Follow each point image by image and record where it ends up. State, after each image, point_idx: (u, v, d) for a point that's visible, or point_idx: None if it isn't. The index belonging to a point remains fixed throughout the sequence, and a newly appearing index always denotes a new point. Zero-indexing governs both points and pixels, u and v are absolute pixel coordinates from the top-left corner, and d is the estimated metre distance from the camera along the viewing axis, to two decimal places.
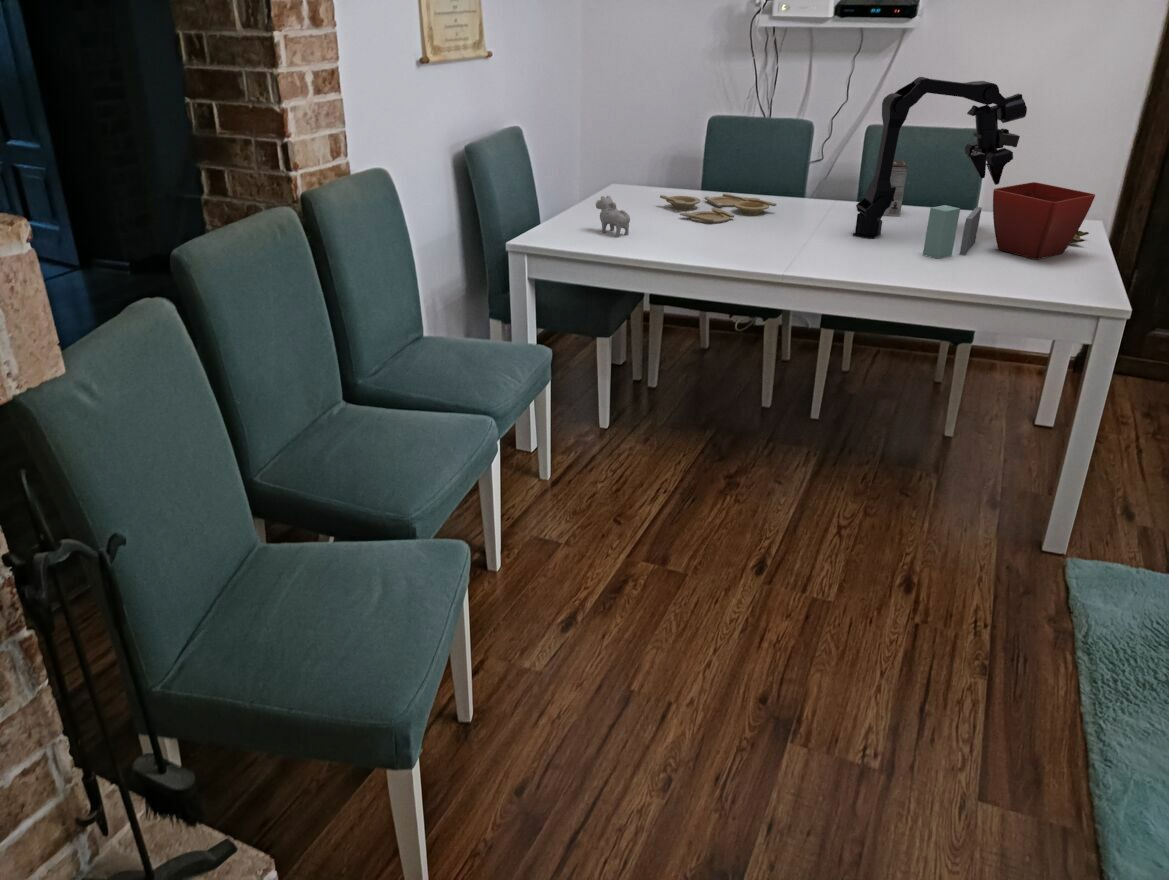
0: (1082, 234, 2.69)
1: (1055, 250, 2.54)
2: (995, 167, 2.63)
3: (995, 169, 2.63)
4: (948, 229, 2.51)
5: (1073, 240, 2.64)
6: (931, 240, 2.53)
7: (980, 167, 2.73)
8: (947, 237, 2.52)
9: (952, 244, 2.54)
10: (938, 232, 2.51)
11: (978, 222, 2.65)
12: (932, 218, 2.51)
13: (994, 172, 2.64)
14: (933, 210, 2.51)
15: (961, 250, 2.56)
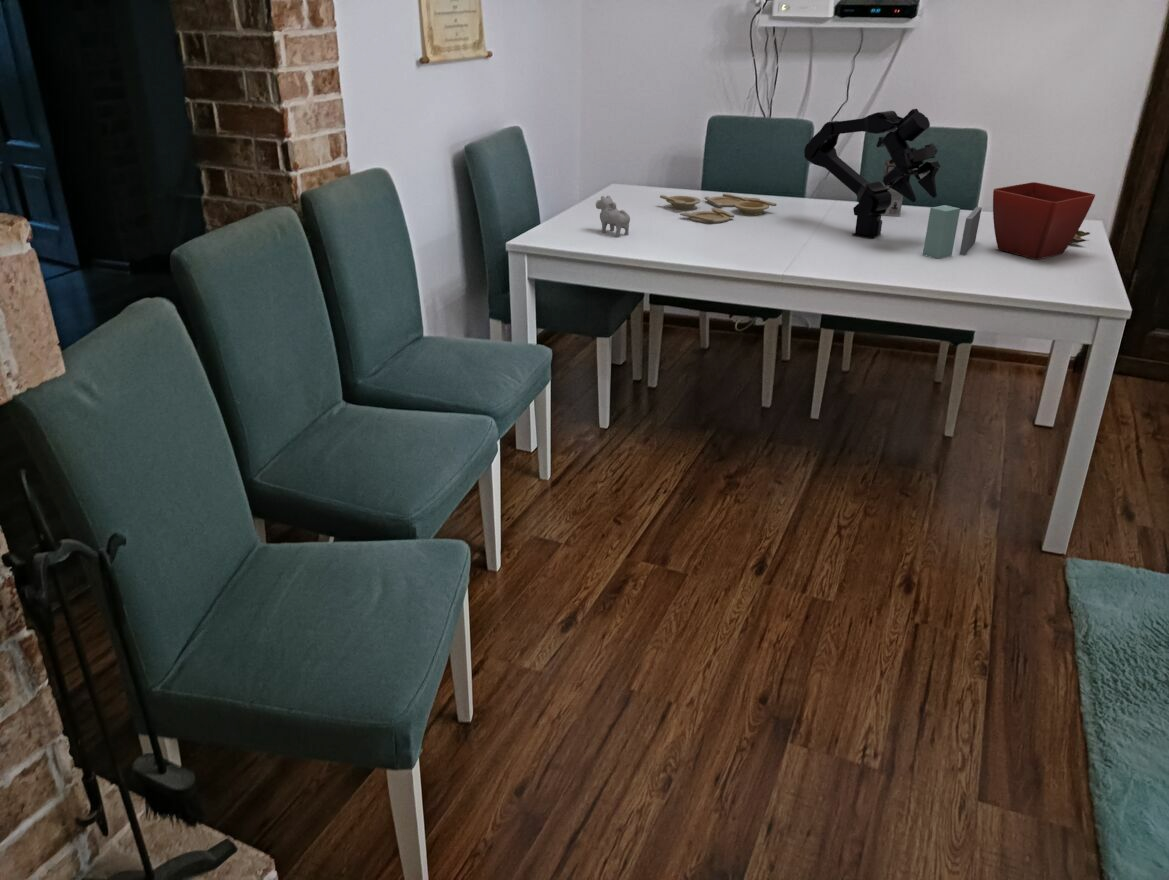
0: (1083, 234, 2.69)
1: (1055, 250, 2.54)
2: (901, 186, 2.55)
3: (902, 188, 2.55)
4: (948, 229, 2.51)
5: (1074, 240, 2.64)
6: (931, 240, 2.53)
7: (929, 187, 2.60)
8: (947, 237, 2.52)
9: (952, 244, 2.54)
10: (938, 232, 2.51)
11: (978, 222, 2.65)
12: (932, 218, 2.51)
13: (903, 191, 2.55)
14: (933, 210, 2.51)
15: (961, 250, 2.56)
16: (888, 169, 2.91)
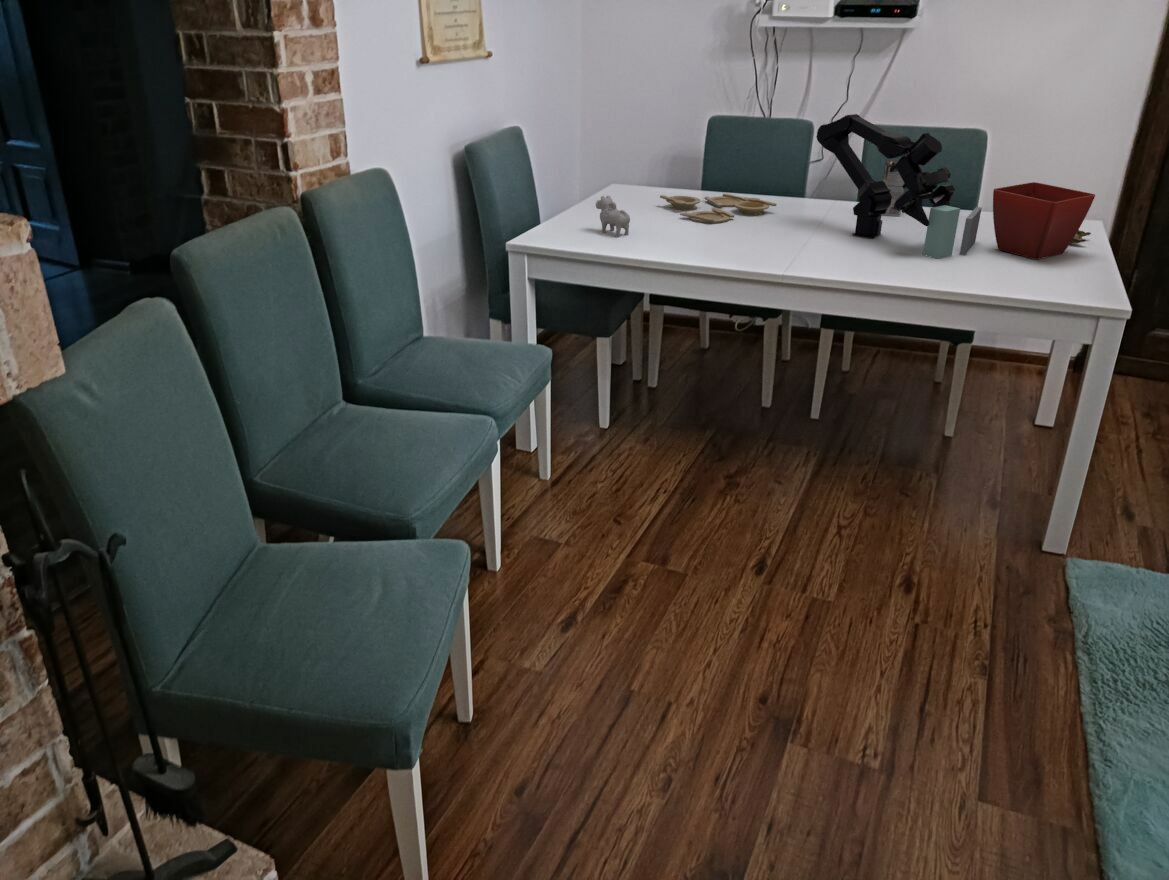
0: (1084, 234, 2.69)
1: (1055, 250, 2.54)
2: (914, 210, 2.52)
3: (915, 212, 2.52)
4: (948, 229, 2.51)
5: (1075, 240, 2.64)
6: (931, 240, 2.53)
7: None
8: (947, 237, 2.52)
9: (952, 244, 2.54)
10: (938, 232, 2.51)
11: (978, 222, 2.65)
12: (932, 218, 2.51)
13: (915, 215, 2.52)
14: (933, 210, 2.51)
15: (961, 250, 2.56)
16: (888, 169, 2.91)
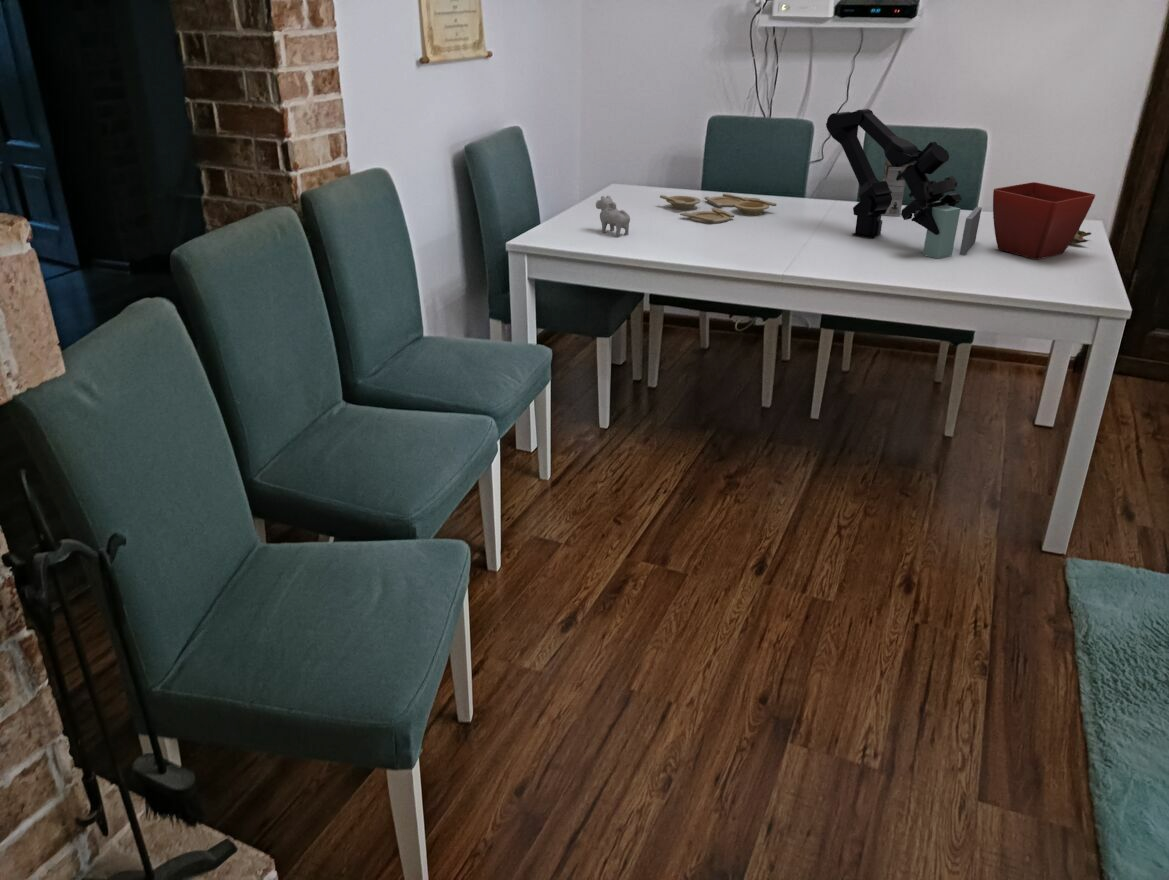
0: (1085, 234, 2.69)
1: (1055, 250, 2.54)
2: (923, 219, 2.52)
3: (925, 220, 2.52)
4: (949, 229, 2.51)
5: (1076, 240, 2.63)
6: (931, 240, 2.53)
7: None
8: (947, 237, 2.52)
9: (952, 244, 2.54)
10: None
11: (978, 222, 2.65)
12: None
13: (925, 224, 2.52)
14: (933, 210, 2.51)
15: (961, 250, 2.56)
16: (888, 169, 2.91)
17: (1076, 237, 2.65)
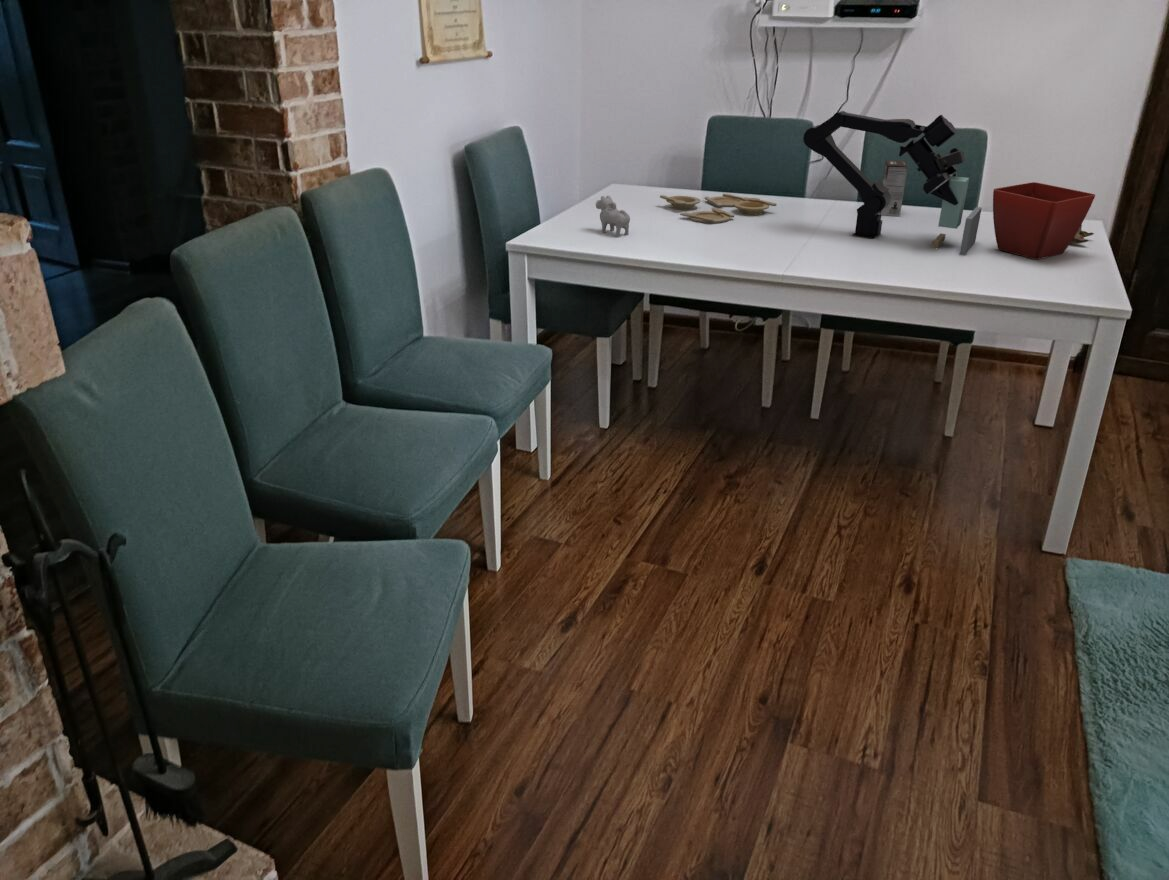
0: (1087, 234, 2.69)
1: (1055, 250, 2.54)
2: (941, 191, 2.56)
3: (943, 192, 2.56)
4: (963, 199, 2.58)
5: (1077, 240, 2.63)
6: (948, 211, 2.59)
7: None
8: (962, 206, 2.59)
9: (962, 213, 2.62)
10: None
11: (978, 222, 2.65)
12: None
13: (944, 195, 2.56)
14: None
15: (961, 250, 2.56)
16: (888, 169, 2.91)
17: (1077, 237, 2.65)
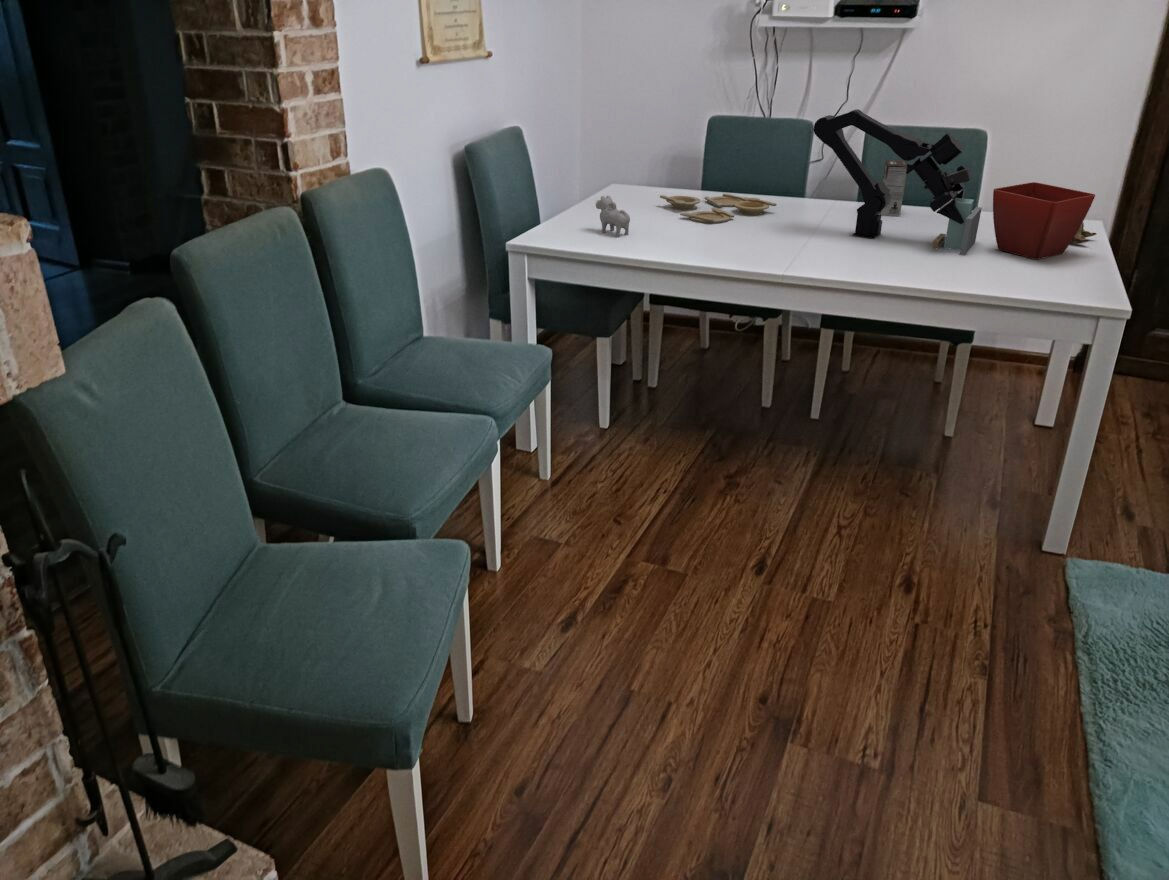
0: (1089, 234, 2.68)
1: (1055, 250, 2.54)
2: (947, 210, 2.56)
3: (949, 211, 2.56)
4: None
5: (1077, 240, 2.64)
6: (954, 233, 2.60)
7: None
8: None
9: None
10: (962, 224, 2.58)
11: (978, 222, 2.65)
12: None
13: (950, 214, 2.56)
14: None
15: (961, 250, 2.56)
16: (888, 169, 2.91)
17: (1078, 237, 2.65)
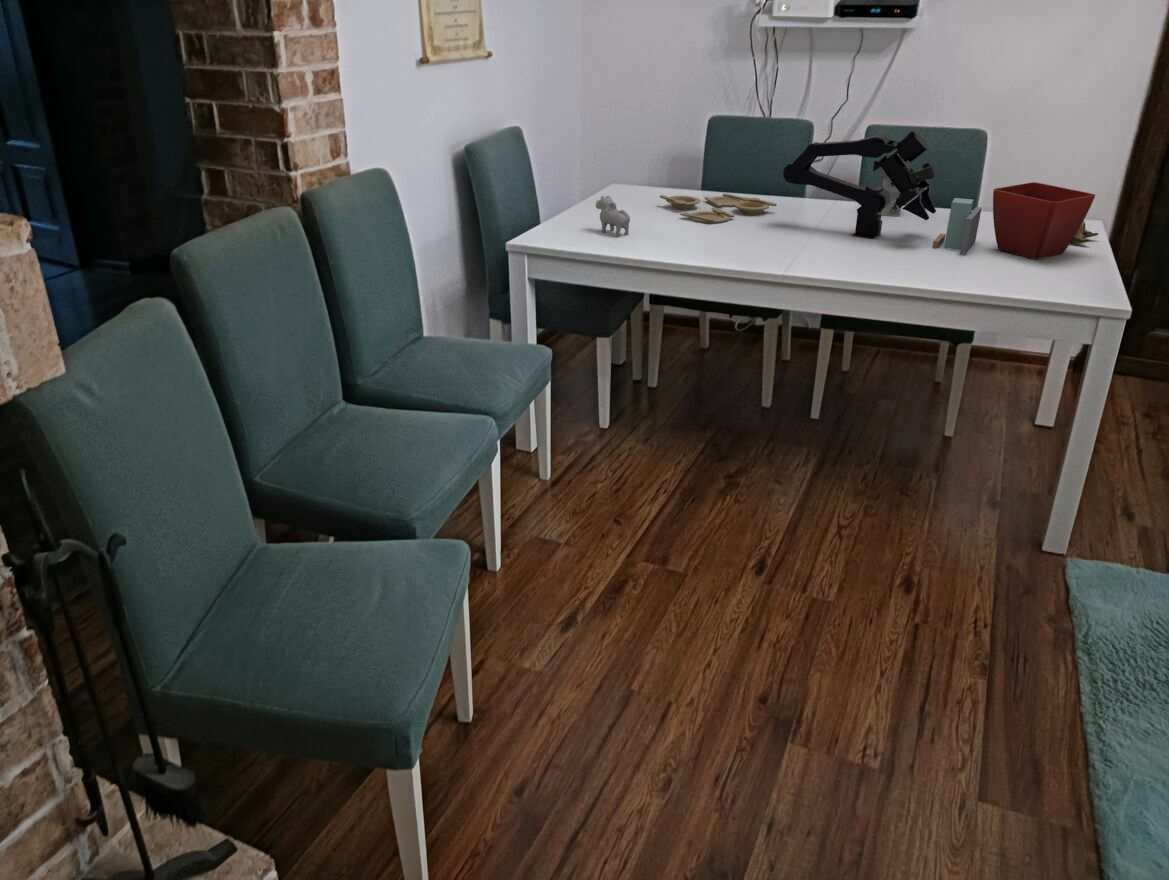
0: (1091, 234, 2.68)
1: (1055, 250, 2.54)
2: (913, 206, 2.60)
3: (914, 208, 2.60)
4: None
5: (1078, 240, 2.64)
6: (954, 233, 2.60)
7: (926, 204, 2.68)
8: None
9: None
10: (962, 224, 2.58)
11: (978, 222, 2.65)
12: (954, 212, 2.58)
13: (915, 210, 2.61)
14: (955, 204, 2.57)
15: (961, 250, 2.56)
16: None
17: (1079, 237, 2.65)
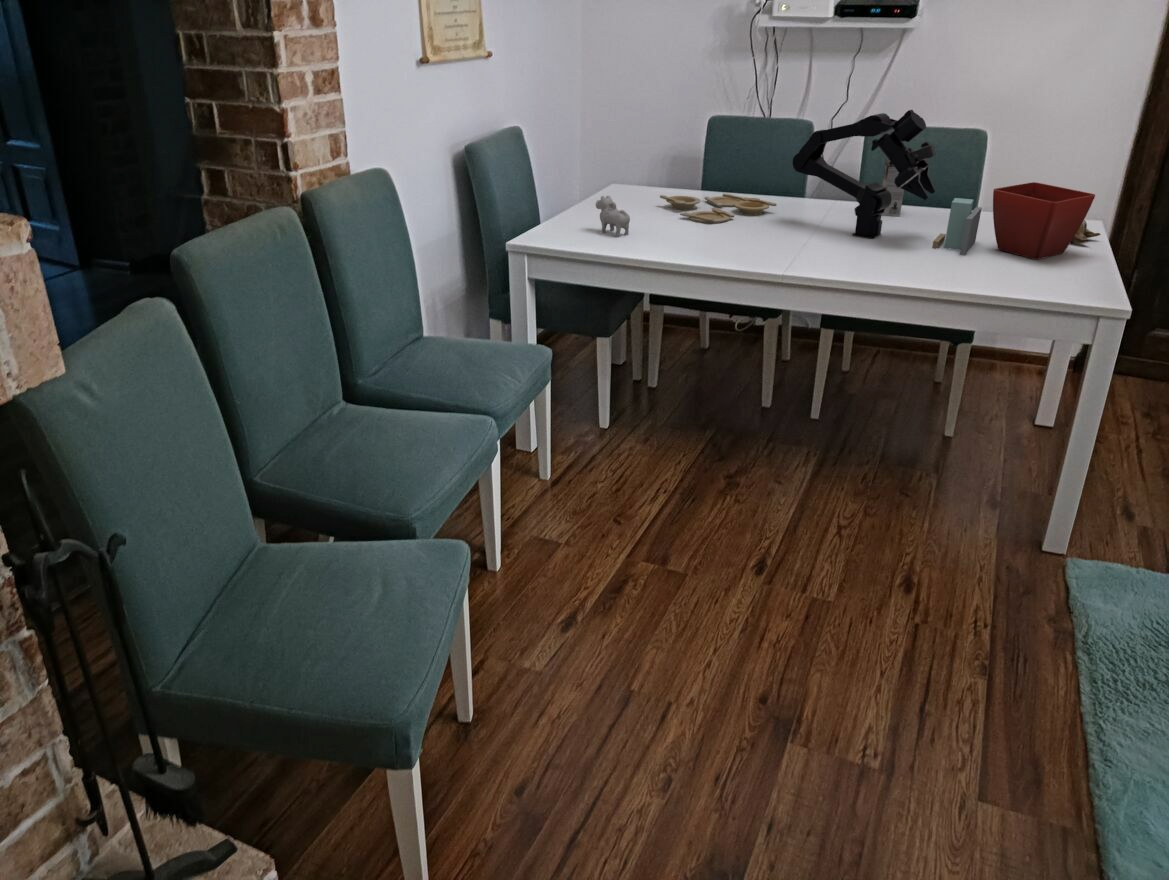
0: (1093, 234, 2.68)
1: (1055, 250, 2.54)
2: (912, 186, 2.58)
3: (913, 187, 2.58)
4: None
5: (1079, 240, 2.64)
6: (954, 233, 2.60)
7: (925, 184, 2.65)
8: None
9: None
10: (962, 224, 2.58)
11: (978, 222, 2.65)
12: (954, 212, 2.58)
13: (914, 190, 2.58)
14: (955, 204, 2.57)
15: (961, 250, 2.56)
16: (888, 169, 2.91)
17: (1080, 237, 2.65)
